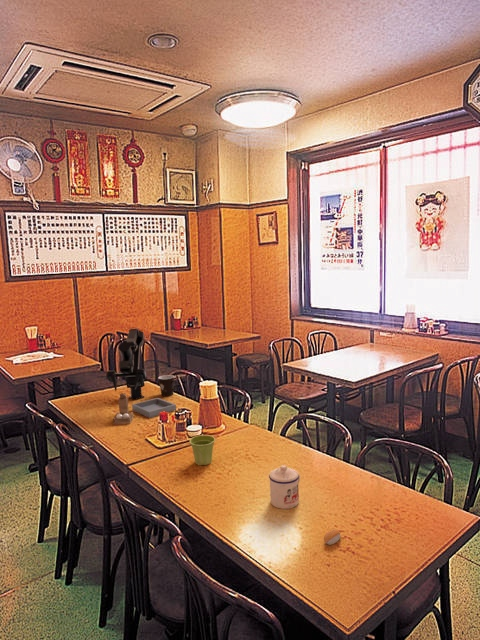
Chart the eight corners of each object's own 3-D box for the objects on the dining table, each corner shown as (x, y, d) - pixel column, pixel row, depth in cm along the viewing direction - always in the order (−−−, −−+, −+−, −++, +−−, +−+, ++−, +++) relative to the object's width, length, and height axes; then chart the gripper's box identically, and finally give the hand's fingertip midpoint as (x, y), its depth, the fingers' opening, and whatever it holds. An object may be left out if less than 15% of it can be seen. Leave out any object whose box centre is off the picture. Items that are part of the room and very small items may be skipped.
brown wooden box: (117, 418, 232) (115, 393, 231) (133, 417, 233) (131, 392, 231) (113, 425, 224) (111, 399, 222) (130, 424, 224) (128, 398, 222)
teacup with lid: (287, 513, 142) (286, 475, 141) (263, 503, 149) (262, 467, 147) (311, 496, 151) (310, 461, 149) (287, 488, 157) (286, 454, 156)
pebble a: (115, 420, 227) (114, 414, 226) (121, 418, 229) (120, 412, 228) (118, 421, 224) (117, 415, 224) (124, 419, 226) (123, 413, 226)
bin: (132, 410, 243) (132, 404, 243) (158, 403, 253) (157, 397, 252) (149, 418, 230) (149, 412, 230) (176, 410, 240) (175, 404, 239)
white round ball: (121, 419, 227) (121, 413, 226) (127, 418, 229) (127, 412, 228) (124, 421, 225) (124, 414, 224) (130, 419, 226) (130, 413, 226)
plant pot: (221, 461, 180) (220, 438, 178) (202, 470, 173) (201, 447, 172) (204, 454, 186) (203, 433, 185) (185, 463, 179) (184, 440, 178)
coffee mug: (157, 394, 269) (156, 376, 268) (172, 391, 273) (171, 374, 271) (163, 399, 259) (162, 381, 257) (179, 396, 262) (177, 378, 261)
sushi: (321, 544, 127) (321, 533, 127) (336, 534, 131) (336, 523, 131) (329, 548, 125) (329, 537, 125) (344, 538, 129) (344, 527, 129)
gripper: (105, 354, 238) (102, 382, 228) (143, 352, 238) (141, 380, 229) (110, 366, 247) (107, 394, 237) (147, 364, 247) (145, 392, 238)
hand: (125, 390), depth 235 cm, fingers open, 9 cm apart
